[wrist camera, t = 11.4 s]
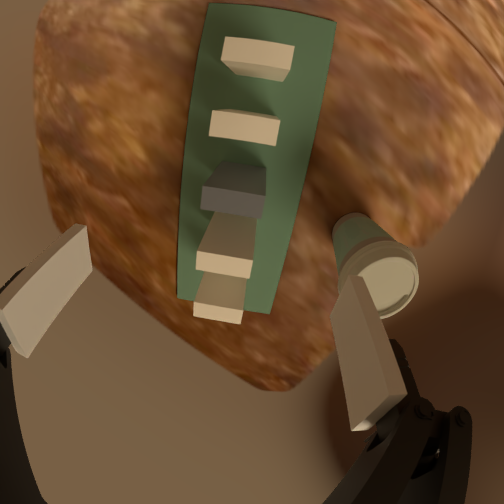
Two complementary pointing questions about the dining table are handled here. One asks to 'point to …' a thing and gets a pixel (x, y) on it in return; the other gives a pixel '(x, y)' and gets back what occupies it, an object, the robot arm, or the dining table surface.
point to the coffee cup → (375, 262)
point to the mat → (250, 153)
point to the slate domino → (235, 190)
